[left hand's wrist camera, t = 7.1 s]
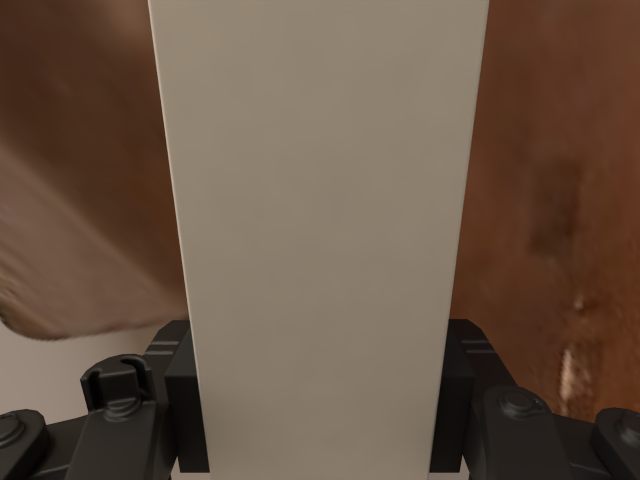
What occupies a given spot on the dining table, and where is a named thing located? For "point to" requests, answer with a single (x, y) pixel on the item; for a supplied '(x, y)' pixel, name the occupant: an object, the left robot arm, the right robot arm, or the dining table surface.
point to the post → (319, 222)
